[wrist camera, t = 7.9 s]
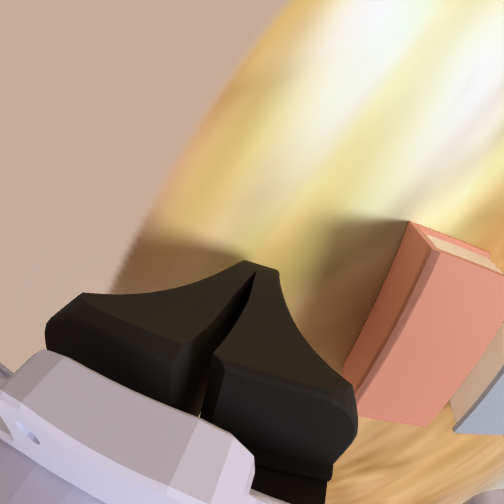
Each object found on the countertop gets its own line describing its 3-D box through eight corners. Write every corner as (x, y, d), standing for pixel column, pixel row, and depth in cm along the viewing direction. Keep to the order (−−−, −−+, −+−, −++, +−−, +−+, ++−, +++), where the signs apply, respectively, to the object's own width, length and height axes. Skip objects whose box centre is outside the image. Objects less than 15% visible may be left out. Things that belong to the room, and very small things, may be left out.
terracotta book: (407, 219, 11) (432, 249, 8) (488, 251, 10) (522, 284, 7) (342, 363, 13) (342, 412, 11) (415, 380, 13) (426, 426, 10)
